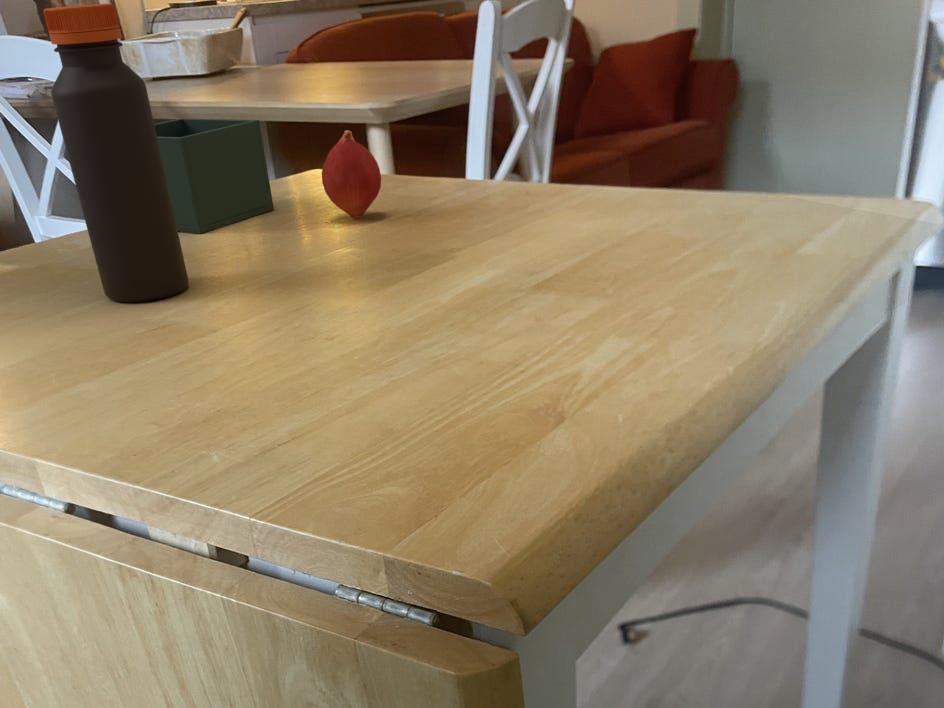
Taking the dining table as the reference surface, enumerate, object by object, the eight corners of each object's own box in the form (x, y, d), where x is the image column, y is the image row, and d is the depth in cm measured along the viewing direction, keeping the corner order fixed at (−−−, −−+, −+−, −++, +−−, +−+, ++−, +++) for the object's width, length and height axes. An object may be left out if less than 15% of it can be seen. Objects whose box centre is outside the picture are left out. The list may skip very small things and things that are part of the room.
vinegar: (207, 284, 84) (147, 0, 72) (144, 307, 79) (70, 8, 68) (151, 276, 87) (86, 4, 76) (88, 298, 82) (8, 11, 71)
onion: (315, 221, 101) (302, 133, 97) (354, 209, 105) (344, 124, 100) (358, 227, 98) (346, 136, 93) (396, 214, 102) (388, 126, 97)
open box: (200, 233, 100) (180, 138, 95) (124, 226, 105) (102, 135, 100) (274, 209, 107) (259, 119, 102) (200, 203, 112) (182, 118, 108)
